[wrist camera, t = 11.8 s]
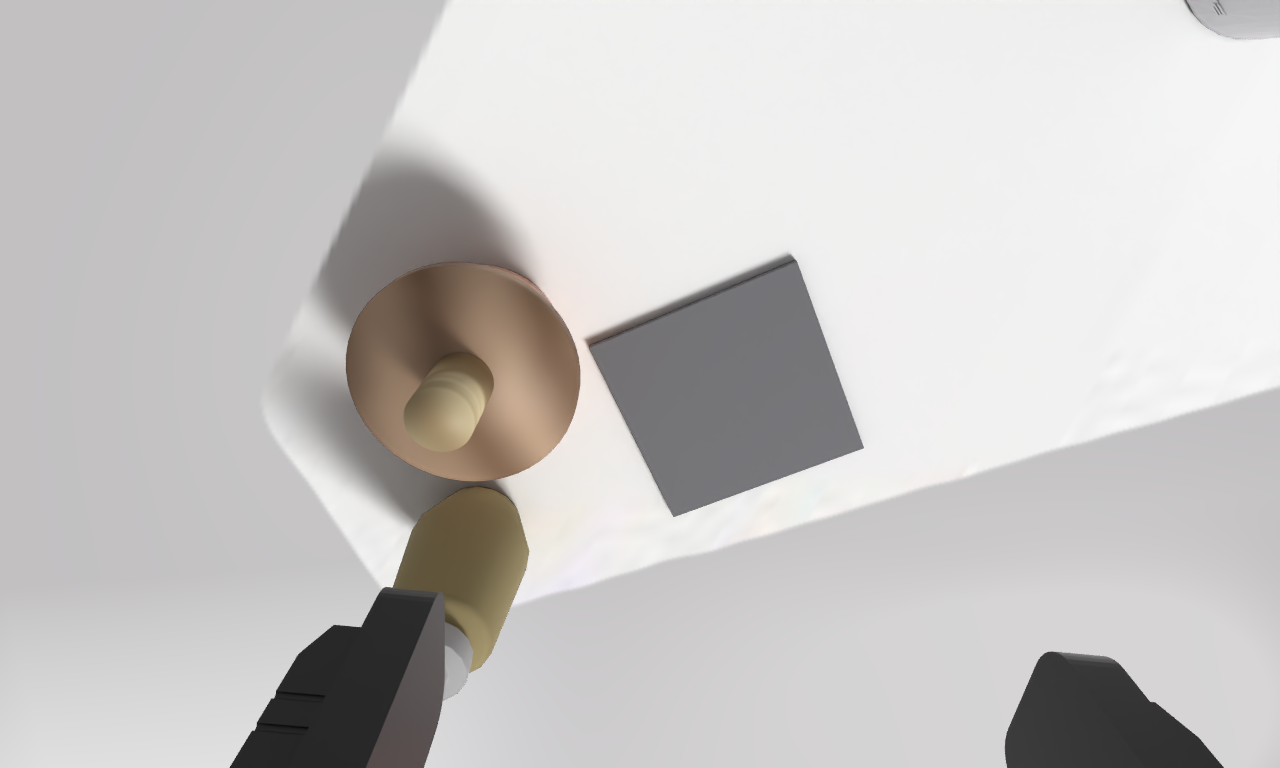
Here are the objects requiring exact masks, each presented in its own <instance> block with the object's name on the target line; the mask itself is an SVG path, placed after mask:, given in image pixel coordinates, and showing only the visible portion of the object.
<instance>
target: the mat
mask: <svg viewBox="0 0 1280 768" xmlns="http://www.w3.org/2000/svg"><path fill="white" fill-rule="evenodd" d="M589 349H590V351H591V353H592V355H593V357H594V359H595V361H596V363H597V365H598V367H599V369H600V371H601V373H602V375H603V377H604V379H605V381H606V383H607V385H608V387H609V389H610V391H611V393H612V395H613V397H614V399H615V401H616V403H617V405H618V407H619V409H620V411H621V413H622V415H623V417H624V419H625V421H626V423H627V425H628V427H629V429H630V431H631V433H632V435H633V437H634V439H635V441H636V443H637V445H638V447H639V449H640V451H641V453H642V455H643V457H644V459H645V461H646V463H647V465H648V467H649V469H650V471H651V473H652V475H653V477H654V479H655V481H656V483H657V485H658V487H659V489H660V491H661V493H662V495H663V497H664V499H665V501H666V503H667V505H668V507H669V509H670V511H671V513H672V515H673V517H676V516H678V515H681V514H684V513H687V512H689V511H692V510H695V509H698V508H700V507H703V506H706V505H709V504H711V503H714V502H717V501H720V500H722V499H725V498H728V497H731V496H733V495H736V494H739V493H742V492H744V491H747V490H750V489H753V488H755V487H758V486H761V485H764V484H766V483H769V482H772V481H775V480H777V479H780V478H783V477H786V476H788V475H791V474H794V473H797V472H799V471H802V470H805V469H808V468H810V467H813V466H816V465H819V464H821V463H824V462H827V461H830V460H833V459H835V458H838V457H841V456H844V455H846V454H849V453H852V452H855V451H857V450H860V449H863V448H864V447H863V444H862V441H861V439H860V436H859V433H858V430H857V427H856V425H855V422H854V419H853V416H852V413H851V411H850V408H849V405H848V402H847V400H846V397H845V394H844V391H843V388H842V386H841V383H840V380H839V377H838V374H837V372H836V369H835V366H834V363H833V361H832V358H831V355H830V352H829V349H828V347H827V344H826V341H825V338H824V335H823V333H822V330H821V327H820V324H819V322H818V319H817V316H816V313H815V310H814V308H813V305H812V302H811V299H810V296H809V294H808V291H807V288H806V285H805V283H804V280H803V277H802V274H801V271H800V269H799V266H798V263H797V261H796V260H794V261H792V262H789V263H787V264H785V265H782V266H780V267H777V268H775V269H773V270H770V271H768V272H765V273H763V274H761V275H758V276H756V277H753V278H751V279H749V280H746V281H744V282H741V283H739V284H737V285H734V286H732V287H729V288H727V289H725V290H722V291H720V292H717V293H715V294H713V295H710V296H708V297H705V298H703V299H700V300H698V301H696V302H693V303H691V304H688V305H686V306H684V307H681V308H679V309H676V310H674V311H672V312H669V313H667V314H664V315H662V316H660V317H657V318H655V319H652V320H650V321H648V322H645V323H643V324H640V325H638V326H636V327H633V328H631V329H628V330H626V331H624V332H621V333H619V334H616V335H614V336H612V337H609V338H607V339H604V340H602V341H600V342H597V343H595V344H592V345H590V347H589Z"/></svg>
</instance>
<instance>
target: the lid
mask: <svg viewBox="0 0 1280 768" xmlns="http://www.w3.org/2000/svg"><path fill="white" fill-rule="evenodd" d="M346 373H347V381H348V386H349V389H350V393H351V397H352V399H353V402H354V404H355V406H356V409H357V411H358V413H359V414H360V416H361V418H362V420H363V421H364V423H365V424H366V426H367V427H368V428H369V430H370V431H371V432H372V434H373V435H374V436H375V437H376V438H377V439H378V440H379V441H380V442H381V443H382V444H383V445H384V446H385V447H386V448H387V449H388V450H390V451H391V452H392V453H393V454H394V455H396V456H397V457H399V458H400V459H402V460H403V461H405V462H406V463H408V464H410V465H412V466H414V467H416V468H418V469H420V470H422V471H425V472H428V473H430V474H433V475H436V476H440V477H443V478H447V479H453V480H460V481H488V480H495V479H500V478H505V477H508V476H511V475H514V474H517V473H519V472H521V471H523V470H526V469H528V468H530V467H531V466H533V465H534V464H536V463H538V462H539V461H541V460H542V459H543V458H544V457H545V456H547V455H548V454H549V453H550V452H551V451H552V450H553V449H554V448H555V447H556V445H557V444H558V443H559V442H560V441H561V439H562V438H563V436H564V435H565V433H566V432H567V430H568V427H569V425H570V423H571V421H572V419H573V416H574V412H575V409H576V406H577V401H578V396H579V389H580V365H579V357H578V354H577V350H576V346H575V343H574V341H573V338H572V336H571V334H570V331H569V329H568V328H567V326H566V324H565V323H564V321H563V319H562V318H561V316H560V315H559V314H558V312H557V311H556V310H555V309H554V307H553V306H552V305H551V304H550V303H549V302H548V301H547V300H546V299H545V298H544V297H543V296H542V295H541V294H540V293H539V292H537V291H536V290H535V289H533V288H532V287H531V286H530V285H528V284H527V283H525V282H523V281H522V280H520V279H518V278H517V277H515V276H513V275H510V274H508V273H506V272H504V271H501V270H499V269H495V268H492V267H489V266H485V265H480V264H474V263H466V262H447V263H437V264H432V265H428V266H424V267H421V268H418V269H415V270H413V271H410V272H408V273H406V274H404V275H402V276H401V277H399V278H397V279H395V280H394V281H393V282H391V283H390V284H389V285H388V286H386V287H385V288H384V289H382V290H381V291H380V292H379V293H377V294H376V295H375V296H374V297H373V298H372V300H371V301H370V302H369V303H368V304H367V305H366V306H365V308H364V309H363V311H362V312H361V313H360V315H359V316H358V318H357V320H356V322H355V324H354V326H353V328H352V332H351V335H350V338H349V341H348V347H347V353H346Z"/></svg>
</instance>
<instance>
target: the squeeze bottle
mask: <svg viewBox="0 0 1280 768" xmlns="http://www.w3.org/2000/svg"><path fill="white" fill-rule="evenodd" d="M528 555H529V549H528V545H527V541H526V538H525V534H524V530H523V527H522V523H521V520H520V516H519V513H518V510H517V508H516V507H515V506H514V504H513V503H512V502H511V501H510V500H509V499H508V497H506V496H504V495H502V494H501V493H499V492H497V491H495V490H493V489H489V488H483V487H471V488H464V489H461V490H459V491H457V492H456V493H454V494H452V495H451V496H449V497H447V498H446V499H445V500H443V501H442V502H440V503H439V504H437V505H436V506H434V507H433V508H431V509H430V510H428V511H427V512H425V513H424V514H423V515H422V516H421V518H420V519H419V521H418V522H417V524H416V525H415V527H414V528H413V530H412V532H411V535H410V538H409V541H408V544H407V547H406V550H405V553H404V556H403V559H402V562H401V564H400V567H399V570H398V573H397V576H396V579H395V582H394V585H393V588H401V589H411V590H422V591H433V592H441V593H443V595H444V601H445V684H444V694H443V700H446V699H448V698H450V697H452V696H454V695H455V694H458V692H459V691H460V690H461V689H462V687H463V686H464V685H465V683H466V681H467V677H468V674H469V673H470V672H472V671H474V670H476V669H478V668H480V667H481V666H482V665H483V663H484V662H485V661H486V660H487V658H488V657H489V656H490V654H491V653H492V650H493V648H494V645H495V643H496V641H497V638H498V636H499V633H500V631H501V629H502V626H503V624H504V621H505V619H506V617H507V614H508V612H509V609H510V607H511V605H512V602H513V600H514V597H515V595H516V593H517V590H518V588H519V585H520V583H521V580H522V578H523V576H524V573H525V571H526V567H527V561H528Z"/></svg>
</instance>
